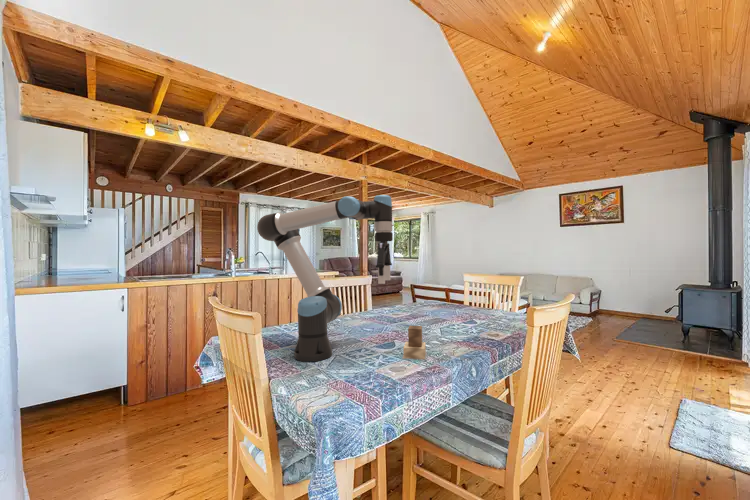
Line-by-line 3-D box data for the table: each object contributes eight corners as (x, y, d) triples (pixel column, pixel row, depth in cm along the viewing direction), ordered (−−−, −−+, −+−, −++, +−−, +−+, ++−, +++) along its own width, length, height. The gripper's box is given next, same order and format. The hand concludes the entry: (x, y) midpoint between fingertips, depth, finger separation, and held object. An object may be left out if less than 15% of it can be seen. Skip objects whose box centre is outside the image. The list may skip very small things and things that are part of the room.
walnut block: (408, 346, 126) (408, 328, 126) (409, 342, 131) (409, 325, 131) (421, 347, 125) (421, 329, 125) (422, 343, 130) (422, 326, 130)
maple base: (403, 358, 125) (403, 347, 125) (405, 351, 133) (405, 341, 133) (424, 359, 123) (424, 348, 123) (425, 352, 131) (425, 342, 131)
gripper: (387, 230, 125) (388, 285, 125) (396, 232, 150) (397, 278, 150) (368, 231, 127) (369, 285, 127) (380, 233, 151) (381, 278, 151)
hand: (384, 281), depth 138 cm, fingers open, 13 cm apart
